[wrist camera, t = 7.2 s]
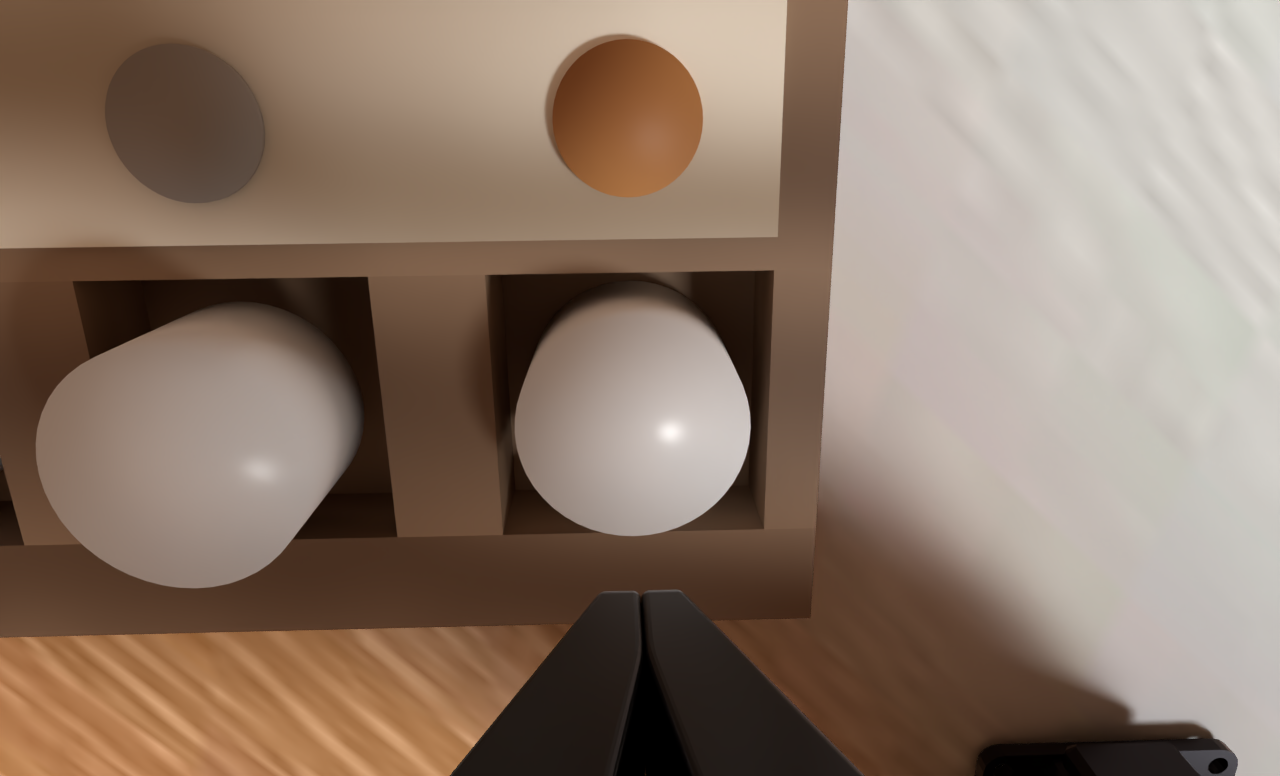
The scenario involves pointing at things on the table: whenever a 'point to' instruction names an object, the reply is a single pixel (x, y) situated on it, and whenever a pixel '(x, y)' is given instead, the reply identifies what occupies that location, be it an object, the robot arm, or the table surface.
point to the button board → (421, 274)
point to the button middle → (200, 443)
